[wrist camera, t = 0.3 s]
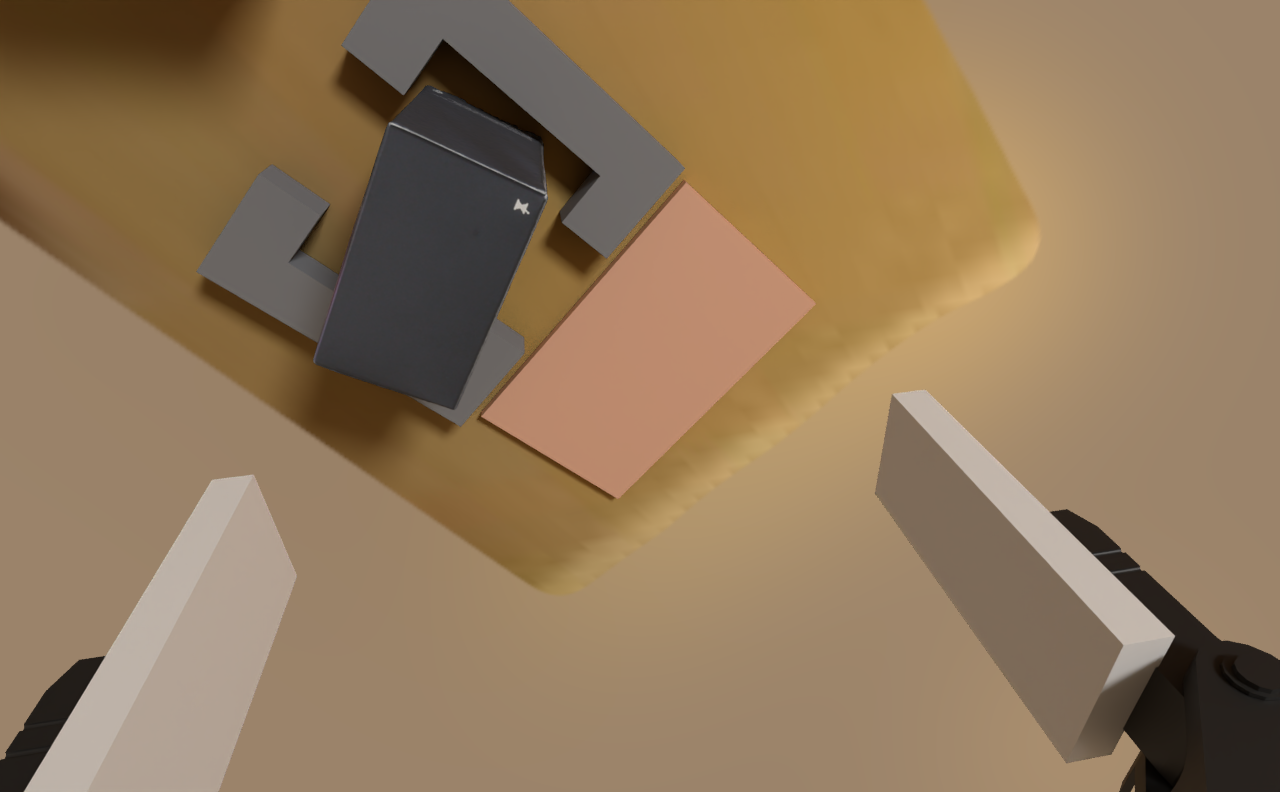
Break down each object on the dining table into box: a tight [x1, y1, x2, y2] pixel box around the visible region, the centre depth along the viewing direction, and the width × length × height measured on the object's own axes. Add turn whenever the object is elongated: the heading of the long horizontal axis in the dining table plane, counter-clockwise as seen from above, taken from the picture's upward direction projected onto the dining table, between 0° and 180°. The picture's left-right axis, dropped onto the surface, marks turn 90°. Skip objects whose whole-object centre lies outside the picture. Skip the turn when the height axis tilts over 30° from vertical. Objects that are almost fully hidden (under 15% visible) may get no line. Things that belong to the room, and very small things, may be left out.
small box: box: [313, 85, 548, 410], centre depth 31 cm, size 11×6×10 cm, turn 153°
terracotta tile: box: [481, 180, 816, 499], centre depth 41 cm, size 11×18×1 cm, turn 138°
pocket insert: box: [196, 0, 685, 427], centre depth 34 cm, size 15×19×2 cm
